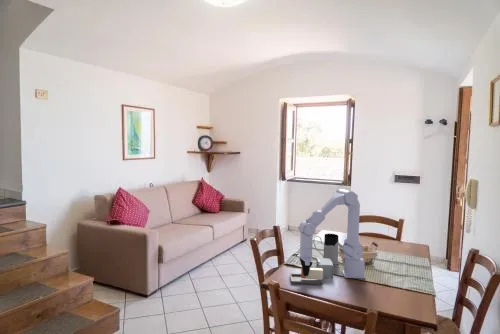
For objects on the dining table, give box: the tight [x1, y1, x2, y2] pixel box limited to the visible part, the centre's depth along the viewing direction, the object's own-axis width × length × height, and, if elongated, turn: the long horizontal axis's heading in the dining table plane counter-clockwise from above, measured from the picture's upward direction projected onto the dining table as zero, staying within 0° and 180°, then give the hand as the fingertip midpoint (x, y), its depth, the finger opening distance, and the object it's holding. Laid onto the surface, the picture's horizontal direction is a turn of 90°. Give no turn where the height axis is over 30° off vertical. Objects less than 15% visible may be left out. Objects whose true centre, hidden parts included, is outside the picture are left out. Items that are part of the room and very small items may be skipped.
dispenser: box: [315, 257, 334, 279], centre depth 162 cm, size 7×9×7 cm
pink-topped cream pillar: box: [300, 266, 324, 281], centre depth 154 cm, size 10×2×4 cm, turn 86°
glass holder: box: [312, 233, 339, 265], centre depth 179 cm, size 9×14×15 cm, turn 71°
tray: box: [289, 272, 323, 286], centre depth 154 cm, size 14×9×2 cm, turn 86°
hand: (305, 274), depth 154 cm, fingers closed on pink-topped cream pillar, 2 cm apart
